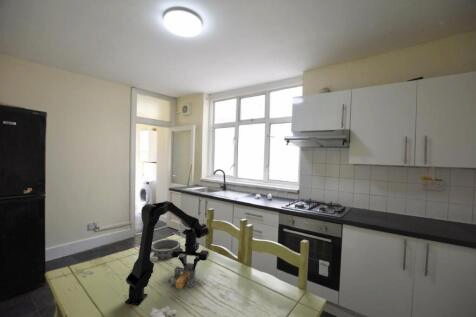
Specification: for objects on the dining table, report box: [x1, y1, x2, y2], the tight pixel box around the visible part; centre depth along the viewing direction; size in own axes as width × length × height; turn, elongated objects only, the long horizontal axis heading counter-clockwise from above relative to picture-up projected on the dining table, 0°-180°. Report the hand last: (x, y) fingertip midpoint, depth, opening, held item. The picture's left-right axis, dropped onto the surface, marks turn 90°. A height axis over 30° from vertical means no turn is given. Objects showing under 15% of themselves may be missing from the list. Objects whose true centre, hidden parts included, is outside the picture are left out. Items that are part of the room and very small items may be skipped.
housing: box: [170, 266, 197, 288], centre depth 105 cm, size 6×10×6 cm, turn 83°
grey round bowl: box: [151, 238, 181, 260], centre depth 136 cm, size 18×18×5 cm
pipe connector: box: [150, 252, 158, 262], centre depth 118 cm, size 10×10×10 cm
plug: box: [175, 262, 194, 290], centre depth 108 cm, size 16×4×4 cm, turn 171°
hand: (190, 269), depth 114 cm, fingers closed on plug, 4 cm apart
